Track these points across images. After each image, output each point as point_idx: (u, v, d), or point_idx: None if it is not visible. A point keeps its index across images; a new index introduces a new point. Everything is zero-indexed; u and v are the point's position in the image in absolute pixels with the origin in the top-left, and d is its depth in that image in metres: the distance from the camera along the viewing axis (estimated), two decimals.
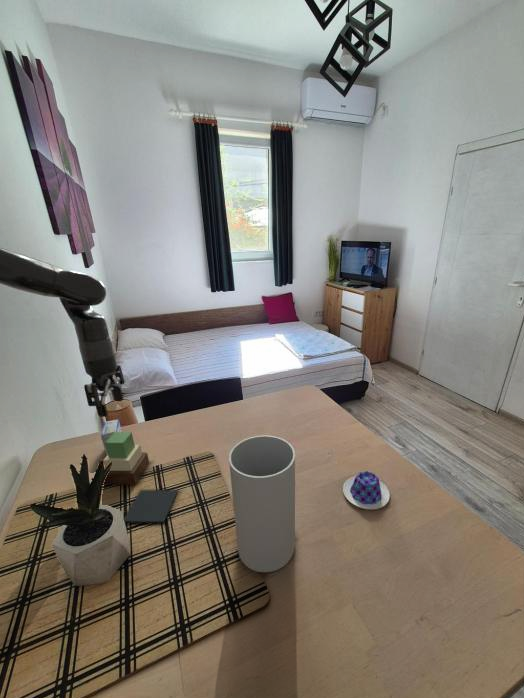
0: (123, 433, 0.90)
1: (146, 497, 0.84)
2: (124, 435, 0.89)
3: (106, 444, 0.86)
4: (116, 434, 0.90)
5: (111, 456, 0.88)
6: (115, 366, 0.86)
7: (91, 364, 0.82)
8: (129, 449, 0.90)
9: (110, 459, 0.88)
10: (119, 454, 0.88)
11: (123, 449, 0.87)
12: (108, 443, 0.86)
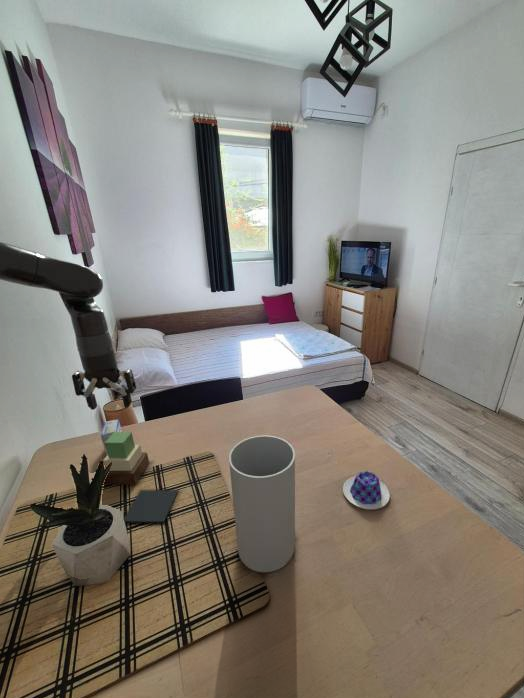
0: (123, 433, 0.90)
1: (146, 497, 0.84)
2: (124, 435, 0.89)
3: (106, 444, 0.86)
4: (116, 434, 0.90)
5: (111, 456, 0.88)
6: (93, 369, 0.78)
7: None
8: (129, 449, 0.90)
9: (110, 459, 0.88)
10: (119, 454, 0.88)
11: (123, 449, 0.87)
12: (108, 443, 0.86)
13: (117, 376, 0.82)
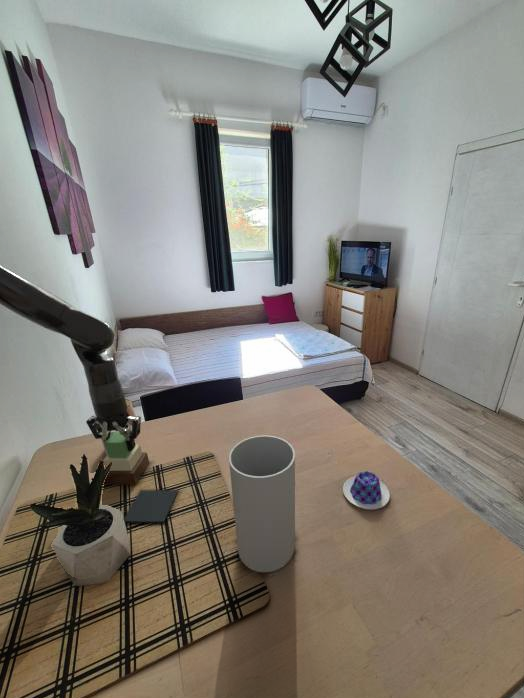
0: None
1: (146, 497, 0.84)
2: None
3: (106, 444, 0.86)
4: (116, 434, 0.90)
5: (111, 456, 0.88)
6: (103, 415, 0.81)
7: None
8: None
9: (110, 459, 0.88)
10: (119, 454, 0.88)
11: (123, 449, 0.87)
12: (108, 443, 0.86)
13: (126, 420, 0.85)
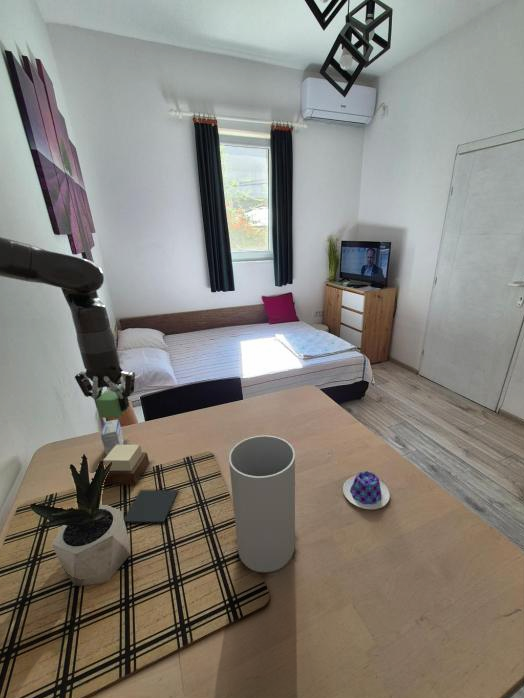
0: None
1: (146, 497, 0.84)
2: None
3: (97, 402, 0.79)
4: (107, 392, 0.83)
5: (102, 416, 0.81)
6: (93, 367, 0.74)
7: None
8: None
9: (110, 459, 0.88)
10: (111, 413, 0.81)
11: (115, 407, 0.80)
12: (98, 401, 0.79)
13: (119, 375, 0.78)
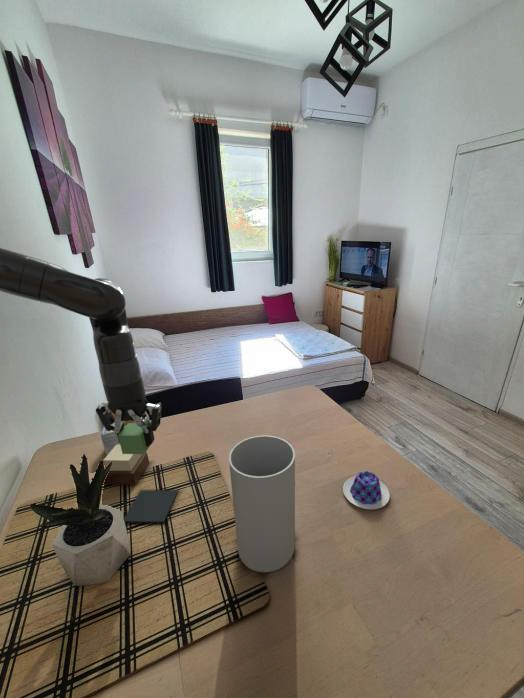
0: None
1: (146, 497, 0.84)
2: None
3: (120, 437, 0.71)
4: (131, 425, 0.74)
5: (125, 452, 0.73)
6: (117, 401, 0.66)
7: None
8: None
9: (110, 459, 0.88)
10: (135, 449, 0.72)
11: (140, 443, 0.72)
12: (122, 436, 0.71)
13: (144, 408, 0.70)
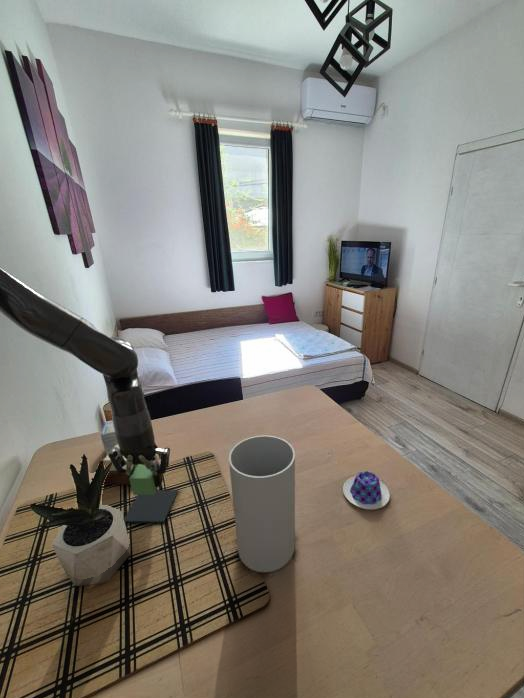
0: None
1: (146, 497, 0.84)
2: None
3: (131, 480, 0.76)
4: (141, 467, 0.79)
5: (136, 493, 0.77)
6: (129, 449, 0.71)
7: None
8: None
9: None
10: (145, 491, 0.77)
11: (150, 485, 0.76)
12: (133, 479, 0.76)
13: (154, 453, 0.74)
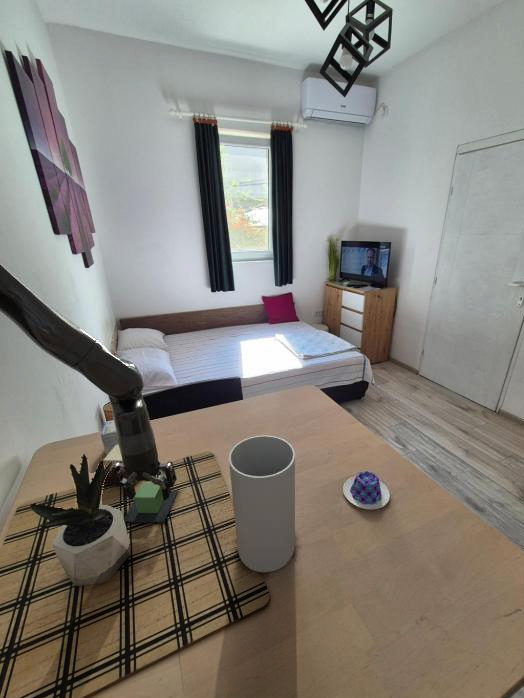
0: (153, 484, 0.82)
1: None
2: (155, 487, 0.81)
3: (136, 499, 0.78)
4: (145, 485, 0.81)
5: (141, 511, 0.80)
6: (134, 467, 0.73)
7: None
8: (160, 502, 0.81)
9: (110, 459, 0.88)
10: (150, 509, 0.79)
11: (154, 504, 0.79)
12: (137, 498, 0.78)
13: (157, 470, 0.77)
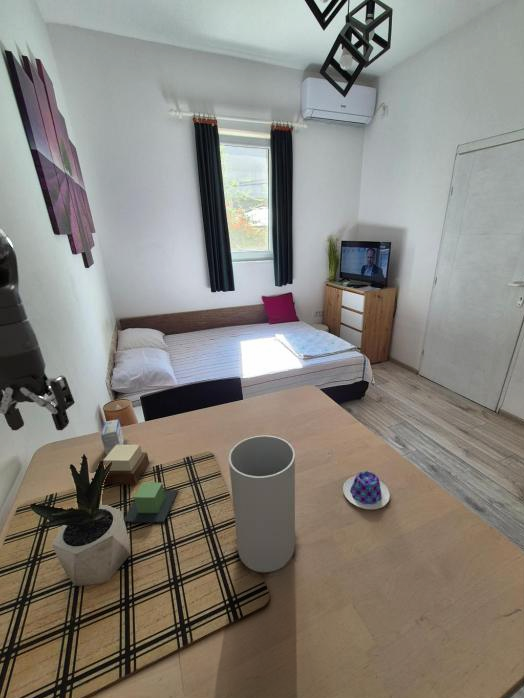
0: (153, 484, 0.82)
1: None
2: (155, 487, 0.81)
3: (136, 499, 0.78)
4: (145, 485, 0.81)
5: (141, 511, 0.80)
6: (1, 375, 0.53)
7: None
8: (160, 502, 0.81)
9: (110, 459, 0.88)
10: (150, 509, 0.79)
11: (154, 504, 0.79)
12: (137, 498, 0.78)
13: (42, 386, 0.57)
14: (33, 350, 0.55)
